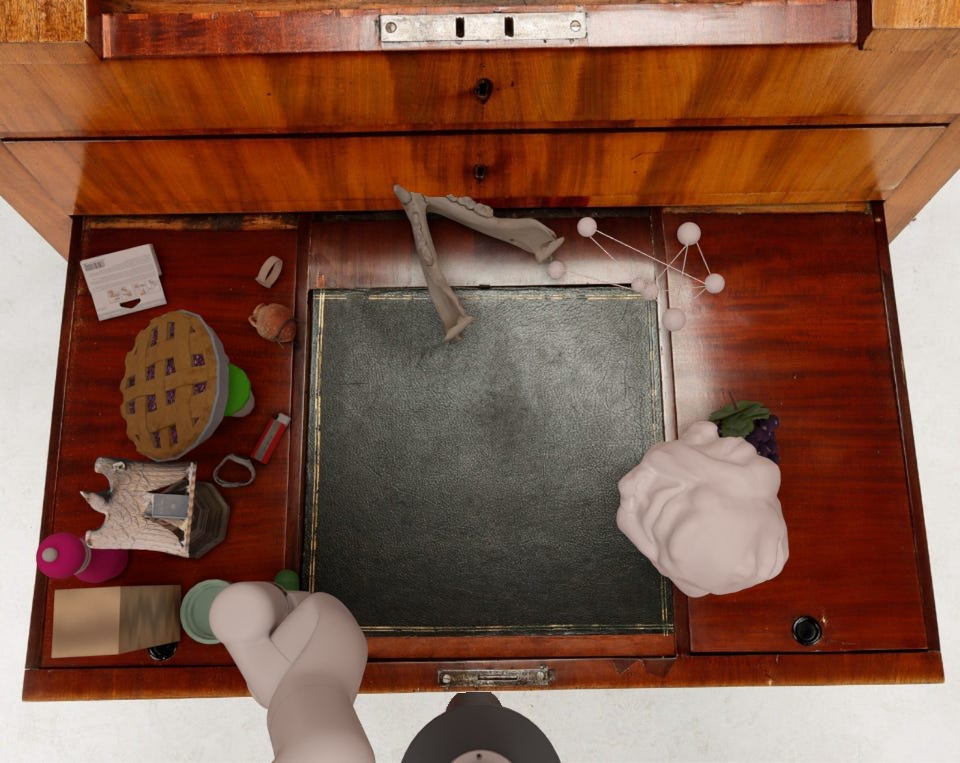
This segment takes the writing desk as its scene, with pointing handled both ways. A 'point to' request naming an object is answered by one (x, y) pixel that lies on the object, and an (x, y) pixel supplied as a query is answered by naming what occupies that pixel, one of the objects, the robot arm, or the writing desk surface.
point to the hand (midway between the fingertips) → (288, 606)
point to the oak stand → (114, 619)
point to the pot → (275, 323)
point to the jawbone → (481, 219)
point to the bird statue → (157, 508)
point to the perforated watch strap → (265, 270)
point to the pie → (174, 386)
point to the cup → (238, 393)
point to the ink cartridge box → (124, 281)
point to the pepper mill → (79, 559)
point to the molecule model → (649, 290)
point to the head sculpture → (706, 512)
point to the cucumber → (287, 580)
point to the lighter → (270, 438)
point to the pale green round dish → (201, 610)
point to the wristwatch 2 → (239, 460)
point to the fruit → (749, 426)
